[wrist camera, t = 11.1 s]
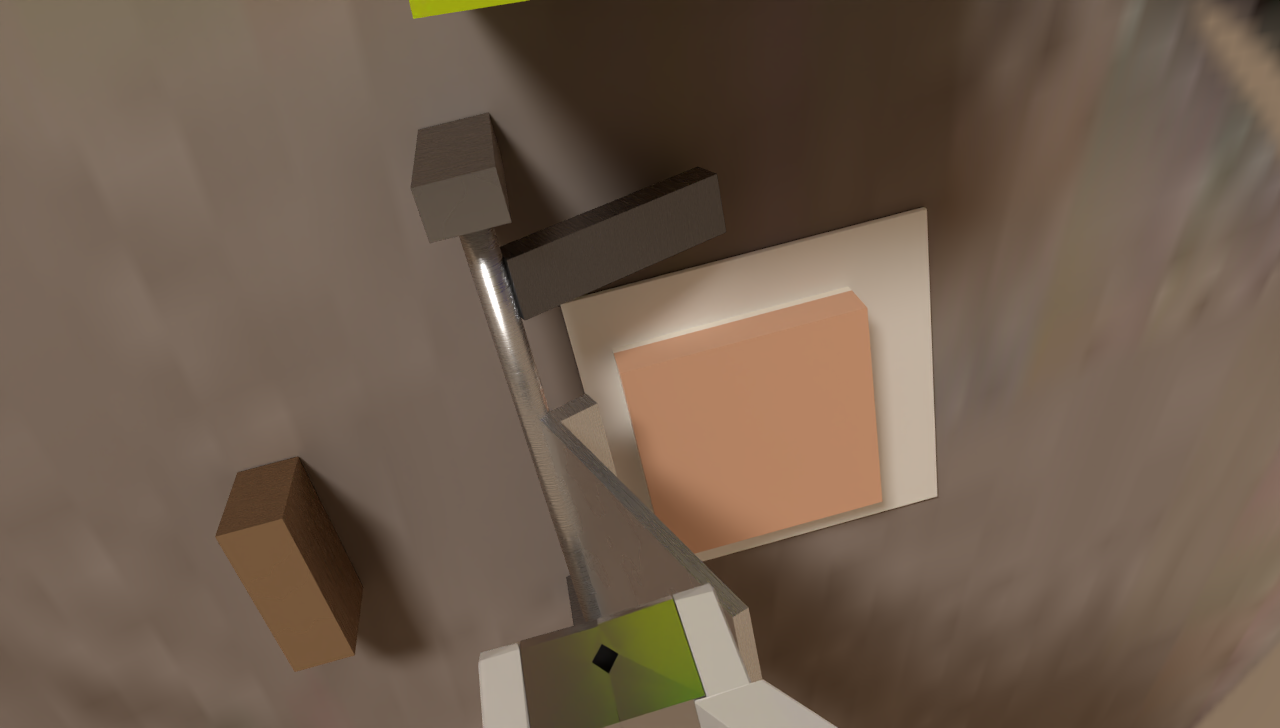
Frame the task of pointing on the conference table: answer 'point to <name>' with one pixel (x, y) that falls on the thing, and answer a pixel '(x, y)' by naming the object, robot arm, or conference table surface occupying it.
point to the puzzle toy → (451, 6)
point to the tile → (756, 419)
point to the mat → (852, 256)
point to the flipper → (574, 433)
